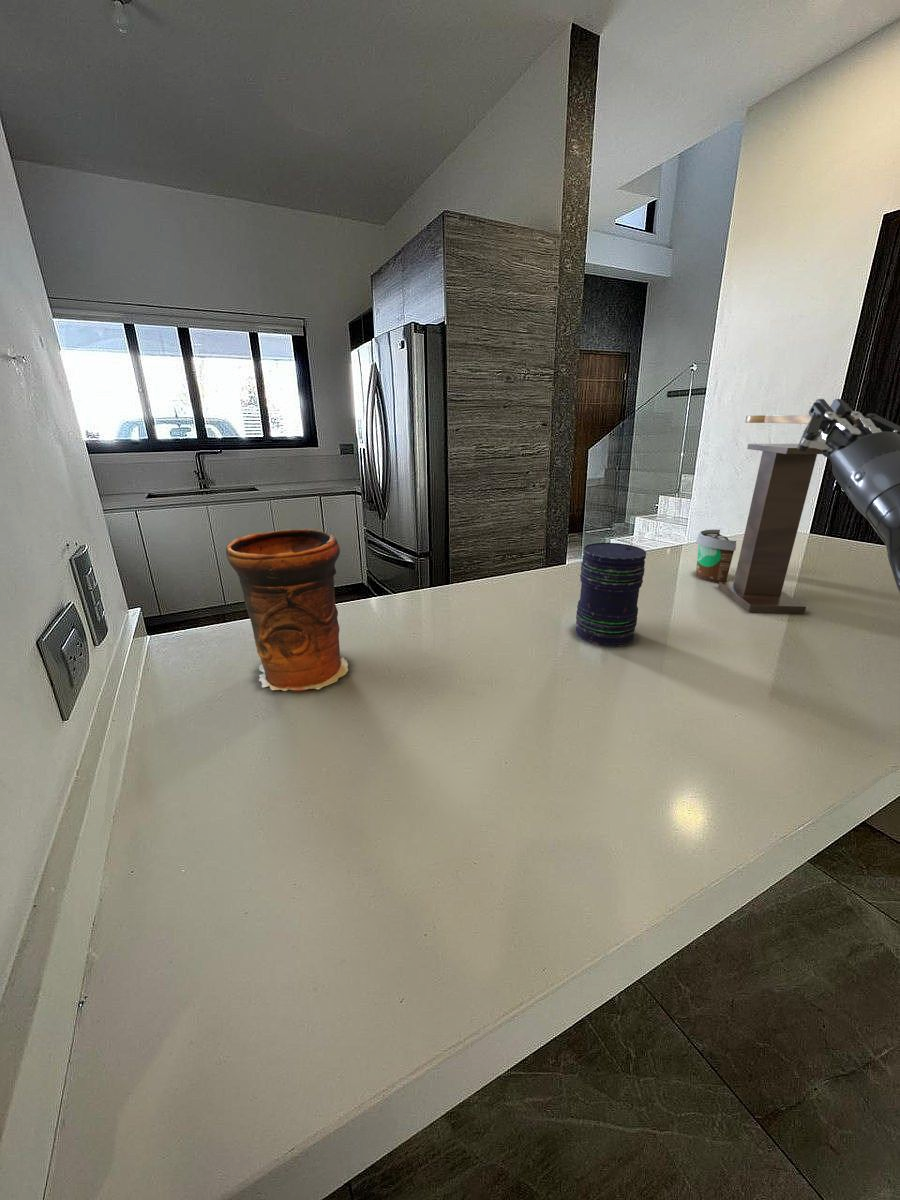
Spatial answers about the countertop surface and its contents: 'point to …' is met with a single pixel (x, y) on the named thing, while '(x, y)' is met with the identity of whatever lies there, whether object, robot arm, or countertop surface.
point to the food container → (714, 556)
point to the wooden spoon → (780, 419)
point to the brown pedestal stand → (772, 529)
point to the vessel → (291, 605)
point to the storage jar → (609, 593)
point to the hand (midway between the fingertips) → (825, 405)
